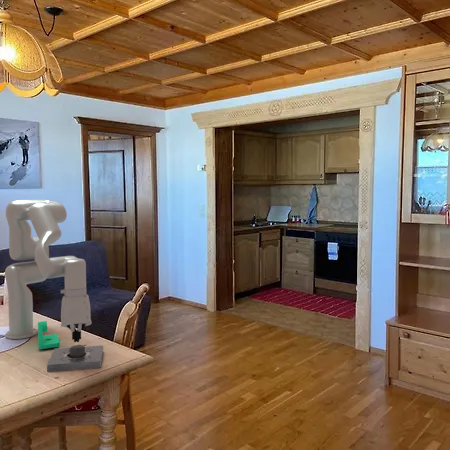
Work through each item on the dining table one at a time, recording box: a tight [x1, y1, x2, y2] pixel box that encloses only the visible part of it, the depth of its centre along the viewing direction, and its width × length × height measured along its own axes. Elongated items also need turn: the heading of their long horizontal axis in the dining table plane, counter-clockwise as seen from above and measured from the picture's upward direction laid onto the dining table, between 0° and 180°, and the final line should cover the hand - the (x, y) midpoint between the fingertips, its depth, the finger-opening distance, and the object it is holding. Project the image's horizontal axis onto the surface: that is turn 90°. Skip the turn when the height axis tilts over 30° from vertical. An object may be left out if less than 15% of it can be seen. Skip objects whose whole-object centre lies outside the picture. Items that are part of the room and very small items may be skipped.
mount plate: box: [46, 345, 104, 373], centre depth 164 cm, size 16×18×2 cm
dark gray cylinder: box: [69, 344, 86, 358], centre depth 165 cm, size 5×5×5 cm
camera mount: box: [37, 320, 60, 350], centre depth 180 cm, size 12×8×10 cm, turn 24°
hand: (76, 341), depth 164 cm, fingers closed
